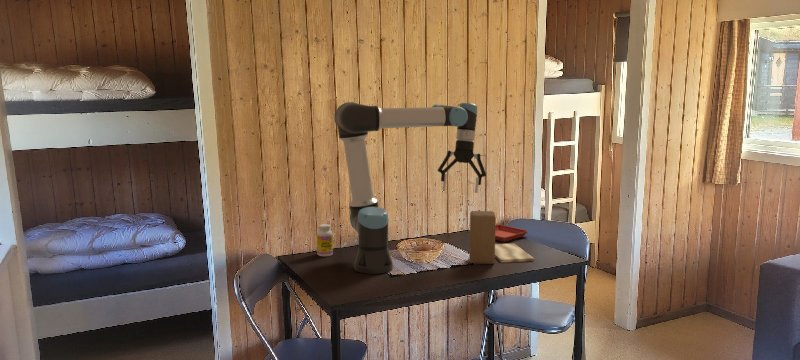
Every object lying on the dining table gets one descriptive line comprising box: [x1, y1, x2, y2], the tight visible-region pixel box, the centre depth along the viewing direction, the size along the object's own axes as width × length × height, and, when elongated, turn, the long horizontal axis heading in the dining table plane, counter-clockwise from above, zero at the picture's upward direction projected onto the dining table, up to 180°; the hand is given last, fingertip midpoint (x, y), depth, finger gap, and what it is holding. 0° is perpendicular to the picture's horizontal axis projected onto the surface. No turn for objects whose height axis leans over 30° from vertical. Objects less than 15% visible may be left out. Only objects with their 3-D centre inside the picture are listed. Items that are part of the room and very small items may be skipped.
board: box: [495, 242, 535, 263], centre depth 266 cm, size 14×24×1 cm, turn 9°
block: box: [468, 210, 497, 265], centre depth 254 cm, size 10×10×20 cm
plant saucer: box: [495, 224, 529, 243], centre depth 296 cm, size 18×18×3 cm
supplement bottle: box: [316, 223, 334, 257], centre depth 264 cm, size 7×7×13 cm
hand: (459, 191), depth 260 cm, fingers open, 13 cm apart
